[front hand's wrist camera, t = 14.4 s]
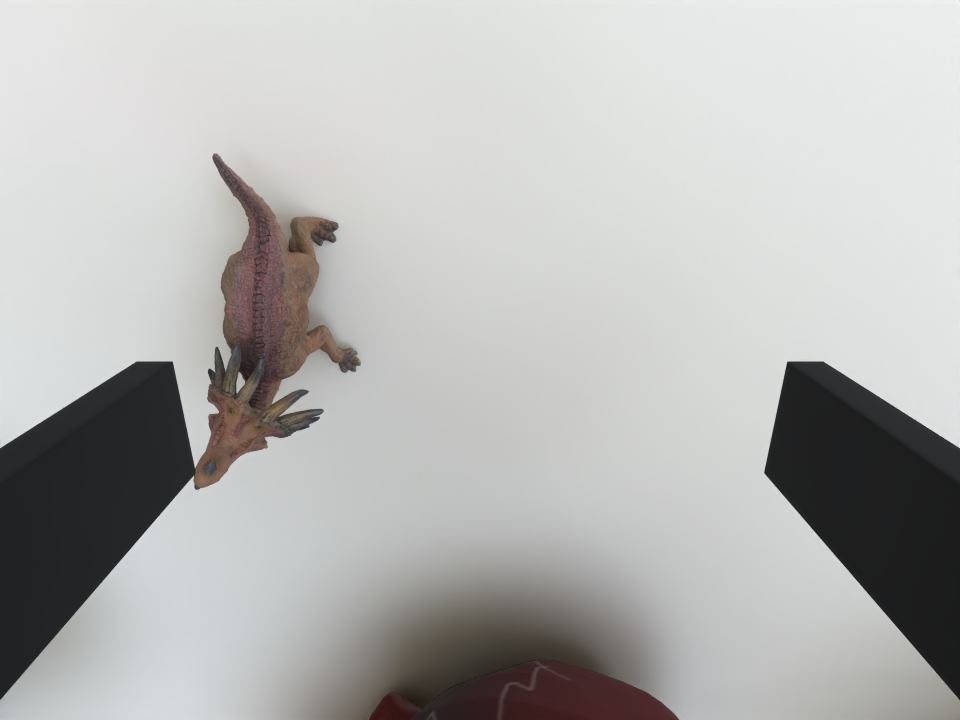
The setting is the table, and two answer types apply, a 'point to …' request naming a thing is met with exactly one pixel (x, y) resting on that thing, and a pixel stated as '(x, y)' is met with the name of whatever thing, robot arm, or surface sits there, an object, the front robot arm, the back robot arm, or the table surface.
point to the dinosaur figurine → (264, 333)
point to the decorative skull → (532, 698)
